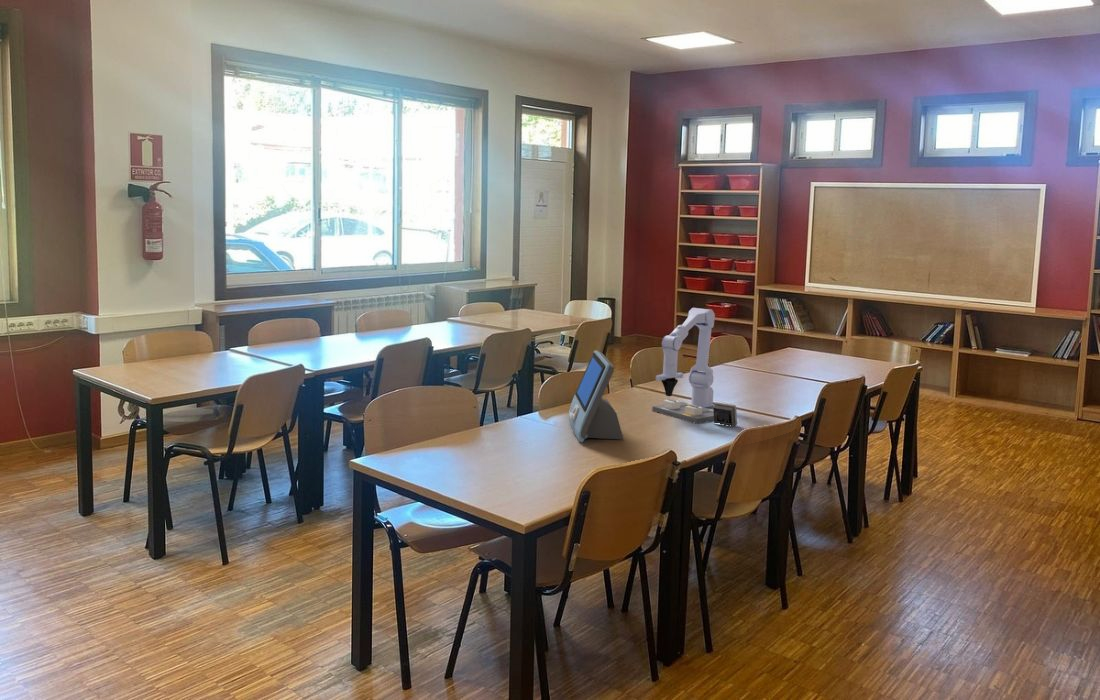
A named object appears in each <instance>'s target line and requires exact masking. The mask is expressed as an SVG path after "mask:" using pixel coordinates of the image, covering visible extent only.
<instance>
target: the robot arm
mask: <svg viewBox="0 0 1100 700" xmlns="http://www.w3.org/2000/svg"><path fill="white" fill-rule="evenodd" d="M715 317H716V314H715V312H714V310H713V309H711V308H710V309H707V308H698V307H692V308H691V309H690V310H688V314H687V318H686V319H685V321H683V323H682V324H679V325H677V326H676V328H674V329H673V331H672V332H671V333H670V334H669V335H665V336H663V338H662V341H661V347H662V352H663V369H662V370H663V371H662V373H661V374H658V375H655V380H656V381H657V382H660V381H661V383H662V385H663V388H664V393H665V396H666V397H672V396H673V393H674V389H675V388H676V386H677V383H678V381H679V380H678V379H683V378H684V373H683V372H678V359H679V356H678V355H679V350H681V347H682V344H683V341H684V340H685V339H686V338H687V336H688V335H689V330H691V329H692V328H693V327H694V326H696V327H697V328H698V330H699V332H698V333H699V334H698V341H697V342H698V343H697V351H696V359H695V364H694V365H693V366H691V367H690V371H689V374H688V382H689V384H690V387H691V403H690V402H689V404H693V405H696V406H700V407H704V408H710V407H711V408H712V407H714V389H713V387H712V385H713V383H714V370H713V369H712V368H711V367H710V366H709V365H708V364H709V357H710V347H711V339H712V338H711V337H712V328H714V326H715V319H716V318H715Z"/></svg>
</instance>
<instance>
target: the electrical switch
mask: <svg viewBox="0 0 1100 700" xmlns="http://www.w3.org/2000/svg"><path fill="white" fill-rule="evenodd" d="M713 405H714V406H713V407H712V410H713V413H714V420H713V424H714V423H720V424H724V423H725V425H731V426H732V427H735V426H734V425H736V426H737V425H738V417H737V416H738V414H737V412H738V411H737V405H736V404H732V403H731V404H730V403H724V402H718V401H715V402H713Z"/></svg>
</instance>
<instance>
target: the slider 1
mask: <svg viewBox="0 0 1100 700" xmlns="http://www.w3.org/2000/svg"><path fill="white" fill-rule="evenodd" d="M680 402H681V401H680V400H677V399H672V398H667V399H665V400H664V399H663V403H662V405H663V407H664V408H668V409H671V410H672V409H678V408H680Z"/></svg>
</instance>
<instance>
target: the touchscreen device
mask: <svg viewBox="0 0 1100 700" xmlns="http://www.w3.org/2000/svg"><path fill="white" fill-rule="evenodd" d="M614 371H615V366H614V365H613V363H612V362H611V361H610V360H609V359H608V357H606V356H605V354H603V352H601V351H599V350H593V352H592V355H591V357H590V360H589V361H588V363H587V366H586V368H585V371H584V373H583V375H582V377H581V379H580V381H579V384H578V386H577V388H576V391H575V393H574V396H573V398H572V401H571V403H570V406H569V410H568V421H569V423H570V426H571V429H572V431H573V433H574V434H575V435H574V436H576V439H577V440H578V442H580V443H581V444H583V442H584V441H585V440H586V439H600V440H601V439H602V440H603V439H604V440H620V441H621V440H623V441H624V437H623V436H624V435H623V431H622V429H621V424H620V421H619V418H618V417H619V416H618V414H617V412H616V411H615V409H614V408H613V406H612V405H611V403H610V401H608V399H606V398H603V397H604V394H605V392H606V390H607V386H608V385H609V383H610V380H611V378H612V375H614Z"/></svg>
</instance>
